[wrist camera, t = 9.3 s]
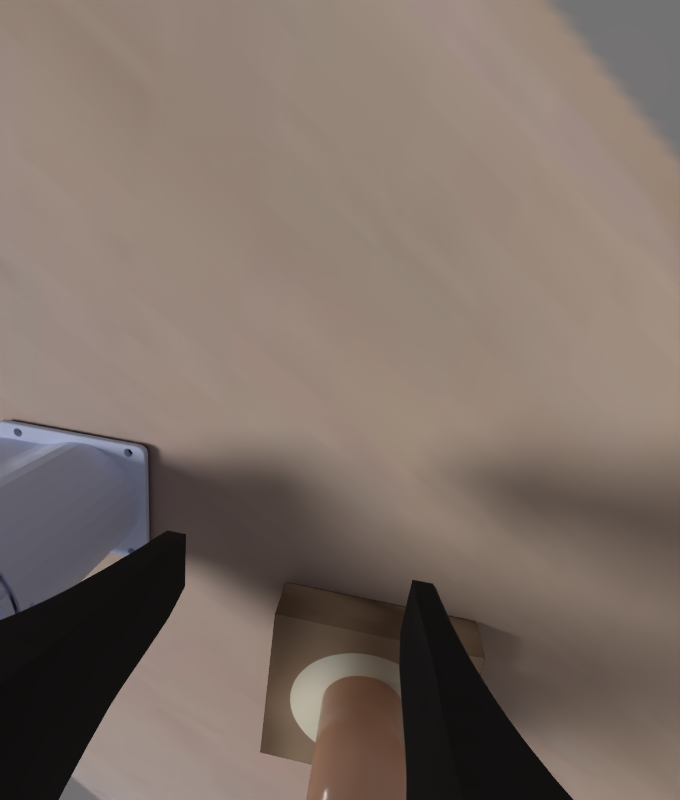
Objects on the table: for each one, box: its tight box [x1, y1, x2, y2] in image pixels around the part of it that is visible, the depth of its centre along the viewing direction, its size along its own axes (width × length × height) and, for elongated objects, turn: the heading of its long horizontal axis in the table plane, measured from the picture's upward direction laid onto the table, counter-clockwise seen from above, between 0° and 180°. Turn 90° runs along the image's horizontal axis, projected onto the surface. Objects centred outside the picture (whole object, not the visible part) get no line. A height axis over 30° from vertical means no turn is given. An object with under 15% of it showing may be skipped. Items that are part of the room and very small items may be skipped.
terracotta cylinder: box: [306, 676, 406, 800], centre depth 22 cm, size 5×5×6 cm
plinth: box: [260, 583, 485, 765], centre depth 26 cm, size 12×12×2 cm
